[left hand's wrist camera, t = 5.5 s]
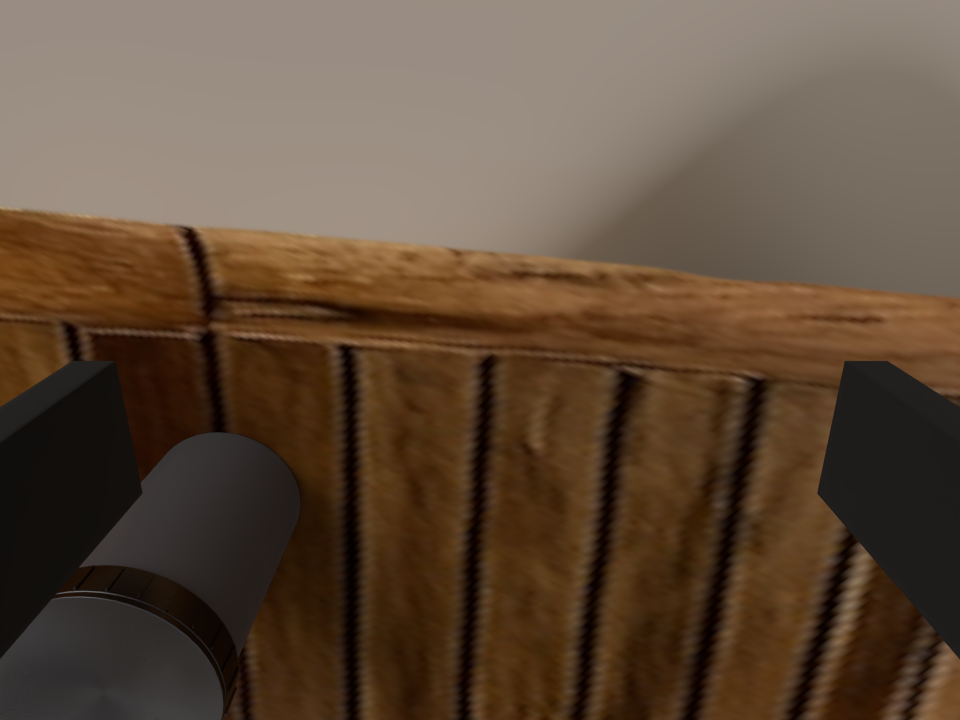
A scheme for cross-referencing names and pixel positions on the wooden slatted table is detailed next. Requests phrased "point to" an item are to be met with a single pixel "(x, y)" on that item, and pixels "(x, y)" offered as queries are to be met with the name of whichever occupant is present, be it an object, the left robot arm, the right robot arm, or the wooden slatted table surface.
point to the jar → (211, 524)
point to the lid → (120, 653)
